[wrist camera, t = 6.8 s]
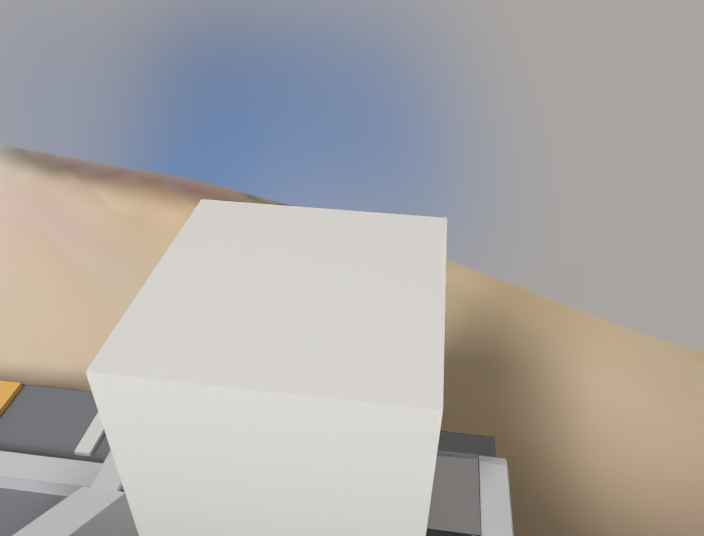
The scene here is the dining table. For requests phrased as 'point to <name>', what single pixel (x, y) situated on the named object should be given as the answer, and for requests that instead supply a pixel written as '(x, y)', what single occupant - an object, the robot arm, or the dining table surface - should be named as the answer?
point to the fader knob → (281, 375)
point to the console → (80, 449)
